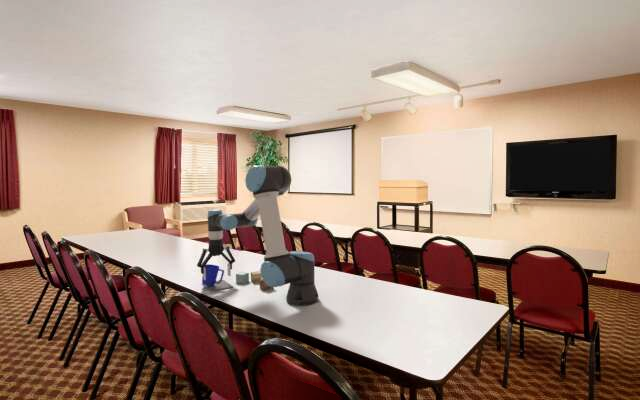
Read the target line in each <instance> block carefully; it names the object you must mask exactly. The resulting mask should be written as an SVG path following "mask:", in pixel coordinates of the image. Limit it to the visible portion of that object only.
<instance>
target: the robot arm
mask: <svg viewBox="0 0 640 400" xmlns="http://www.w3.org/2000/svg"><path fill="white" fill-rule="evenodd" d="M291 185H292V175H291V173H290V171H289V170H288V169H287V168H286V167H284V166H281V165H266V164H265V165H263V164H260V165H253V166H251V167H250V168H249V169H248V171H247V173H246V176H245V186H246V189H247V190H248V191H249V192H251V193H252V195H253V196H252V197H253V198H254V200H253V201H252V202H251V203H250V204H249V206H248V207H247V208H245V210H243V212H239V213H230V214H229V213H227V214H224V213H223V210H221V209H209V210H208V211H207V230H208V236H207V237H208V248H202V253H201V255H200V257H199V260H198V262H197V264H196V267H198V268H200V274H201V275H202V277H204V280H206V270H205V267H204V266H205V265H206V264H208V263H209V261H210V260H211V258H212V257H216V256H220V255H221V256H222V257H223V259H224V260H226V261H227V276H229V277H231V276H232V274H231V273H232V271H231V270H232V269H233V263H235V262H236V259H235V258H234V256H233V254H232V252H231V250H230V246H229V245H226V246H224V239H223V237H224V230H227V231H229V230H234V229H238V228H247V227H253V226H255V225H257V223H258V221H259V220H258V219H259V218H260V222H261V227H262V229H261V230H262V234H263V240H264V246H265V252H266V253H265V255H264V256H263V260H264V261H263V262H262V264H261V266H260V272H261V276H262V279H263V280H264V282H265V283H266V284H267V285H268V286H270V287H273V288H278V287H283V286H284V285H288V284H289V286H288V290H287V293H286V296H285V299H286V303H287V304H289V305H291V306H292V305H293V306H297V307H298V306H299V307H303V306H304V307H305V306H306V307H307V306H311V305H314V304H317V303H318V302H319V294H318V290H317V288H316V284H315V256H314V254H313V253H312V252H308V251H297V250H294V251H288V249H287V248H286V242H285V238H284V233H283V227H282V221H281V215H280V210H279V202H278V197H279V196H283V195H284V194H285V193H286V192H287V191H288V189H290V187H291ZM224 250H225V251H226V254H227V255H228V256H227V255H226V254H225V253H224V252H223V251H224ZM207 253H208V254H207ZM206 254H207V256H206Z"/></svg>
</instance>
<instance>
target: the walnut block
mask: <svg viewBox="0 0 640 400" xmlns="http://www.w3.org/2000/svg"><path fill="white" fill-rule="evenodd" d="M259 289H260V290H263V291H269V290H272V289H274V287H270V286H268V285H267V284H266V283H265V282H264V280H263V279H260V282H259Z"/></svg>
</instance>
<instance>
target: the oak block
mask: <svg viewBox="0 0 640 400" xmlns="http://www.w3.org/2000/svg"><path fill="white" fill-rule="evenodd" d="M260 279H262V276H261V272H260V271H259V270H256V271H250V282H252V283H253V284H254V283H256V284H257V283H260Z"/></svg>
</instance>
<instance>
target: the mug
mask: <svg viewBox="0 0 640 400" xmlns="http://www.w3.org/2000/svg"><path fill="white" fill-rule="evenodd" d="M204 267H205V270H206V280H204V277H203V276H202V279H201V282H202V283H203V284H204V285H214V284H215V283H216V284H219V283H220V282H221V281H222V280H223V278H224V275H225V270H224V269H222V268H220V266H219V265H216V264H208V263H207V264H206V265H205V266H204ZM219 271H220V272H221V274H220V275H221V276H220V279H219V280H220V281H219V282H216V281H217V278H218V274H219ZM202 283H201V284H202Z"/></svg>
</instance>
